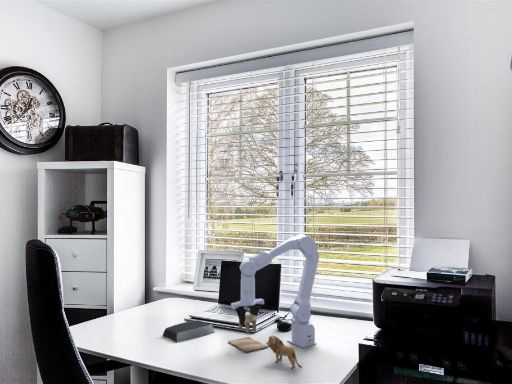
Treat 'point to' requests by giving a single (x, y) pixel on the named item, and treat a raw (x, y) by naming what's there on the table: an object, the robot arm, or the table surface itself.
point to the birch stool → (248, 319)
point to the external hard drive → (188, 331)
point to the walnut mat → (247, 344)
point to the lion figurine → (282, 350)
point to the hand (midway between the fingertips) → (247, 324)
